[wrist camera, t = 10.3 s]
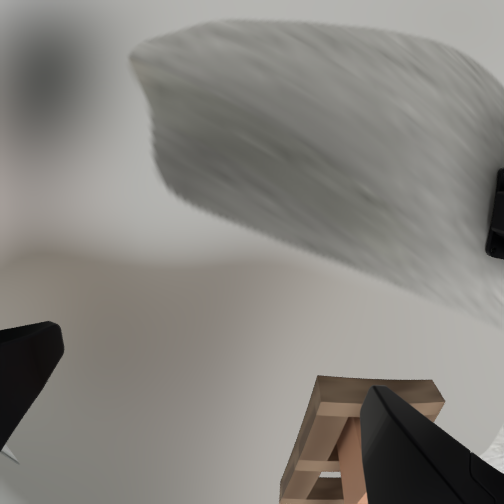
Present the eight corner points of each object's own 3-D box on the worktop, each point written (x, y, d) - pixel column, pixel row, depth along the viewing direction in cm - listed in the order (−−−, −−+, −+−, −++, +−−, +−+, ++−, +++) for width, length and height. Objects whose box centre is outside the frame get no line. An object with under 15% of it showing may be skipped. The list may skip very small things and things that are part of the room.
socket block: (433, 379, 20) (448, 403, 17) (372, 482, 24) (376, 503, 20) (317, 375, 20) (321, 403, 17) (280, 481, 24) (279, 505, 21)
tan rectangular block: (393, 398, 21) (425, 481, 12) (376, 431, 22) (398, 510, 13) (348, 397, 21) (368, 489, 12) (334, 430, 22) (345, 516, 13)
